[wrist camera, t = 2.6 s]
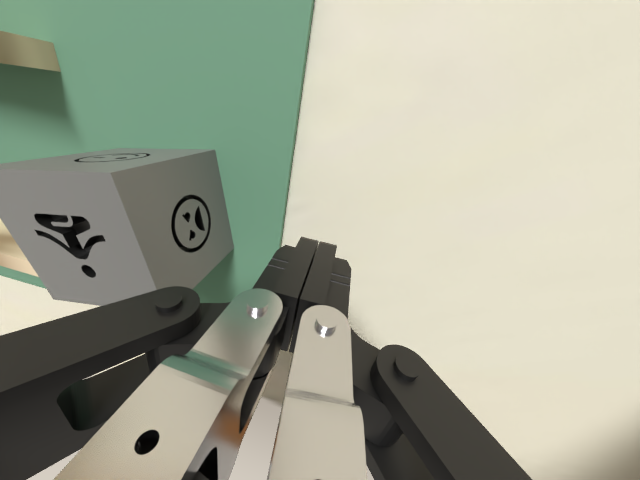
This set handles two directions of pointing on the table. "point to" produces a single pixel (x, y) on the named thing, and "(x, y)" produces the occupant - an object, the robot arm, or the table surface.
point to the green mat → (169, 101)
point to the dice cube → (117, 220)
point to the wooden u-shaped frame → (35, 55)
